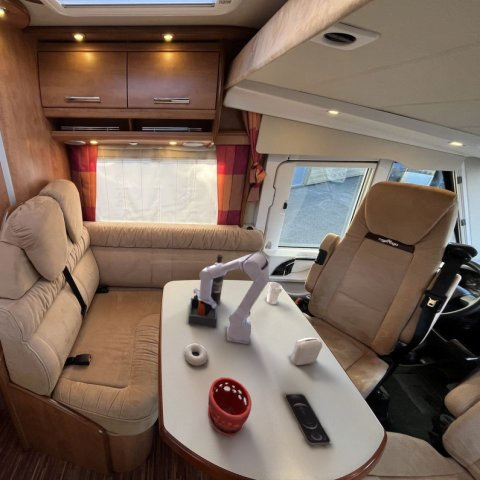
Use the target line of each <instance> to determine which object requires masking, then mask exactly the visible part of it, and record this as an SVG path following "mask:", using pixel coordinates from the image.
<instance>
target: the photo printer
mask: <svg viewBox="0 0 480 480" xmlns="http://www.w3.org/2000/svg"><path fill="white" fill-rule="evenodd" d="M322 348H323V343H322V340H320V338H317V337H305V338H301V339H299V340H297V341H296V342H295V344H294V346H293V350H292V352H291V355H290V361H291V363H293V365H296V366H302V365H308V364H313V363H315V362H316V361H317V359H318V357H319V356H320V355H319V354H320V353H321V349H322Z"/></svg>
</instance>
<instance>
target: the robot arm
mask: <svg viewBox="0 0 480 480" xmlns="http://www.w3.org/2000/svg"><path fill="white" fill-rule="evenodd" d="M269 267H270V261H269V259H268V257H267V255H266V254H264V253H263V252H260V251H257V252H253V253H250V254H246V255H244V256H241V257H239V258H236V259H233V260H232V261H229V262H227V263H223V262H222V263H219V264H218V263H216V262H215V263H214V264H213V265H208V266H206V267H205V268H203V269H202V270H201V271H200V272H199V273H198V277H199V279H200V282H199V283H200V284H199V289H198V288H194V289H193V294H195V295H194V296H193V298H194V299H195V301H196V304H197V308H198V302H199V301H203V302H205V303H207V304H205V305H204V307H205V315H207V314H209V312H210V310H211V309H212V308H215V307H216V308H217V306H218V305H217V304H216V303H215V302H214V301H213V299H212V298H211V289H212V282H213V278H217V277H220V276H223V275H224V276H225V275H227V272H230V271H234V270H237V269H240V270H241V272H245V273H246V275H248V277H249V278H250V279H251V280H252V283H251V285H250V287H249V288H248V290H247V292H246V293H245V295H244V297H243V298H242V300H241V302H240V303H239V305H238V306H237V307H236V309H235V310H234V311H233V312H232V313H231V314H229V316H228V320H229V325H228V326H227V327H226V338H227V341H228V342H233V343H241V344H247V345H248V344H249V343H250V337H251V333H252V323H251V321H248V320H247V319H248V318H249V317H250V316H251V311H252V308H253V306H254V305H255V303H256V302H257V301H258V299H259V297H260V296H261V294H262V293H263V291H264V290H265V288H266V286H267V285H268V284H269V281H270V272H269V271H270V270H269Z"/></svg>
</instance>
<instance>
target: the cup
mask: <svg viewBox="0 0 480 480" xmlns="http://www.w3.org/2000/svg"><path fill="white" fill-rule="evenodd" d="M268 284H269V285H268V291H267V297H266V302H267V303H268V304H270V305H276V304H277V302H278V299H279V296H280V294H281V292H282V290H283V286H282V284H280V283H278V282H274V281H273V282H272V281H271V282H270V283H268Z"/></svg>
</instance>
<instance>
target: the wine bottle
mask: <svg viewBox="0 0 480 480" xmlns="http://www.w3.org/2000/svg"><path fill="white" fill-rule="evenodd" d="M223 259H224V256H223V254H217V255H216V262H215V263H218V264H219V263H223ZM224 279H225V275H223V276H220V277H217V278H213V282H212V289H211V298H212V299H213V301H216V304H217V305H216V306H218V305H219V304H220V302H221V296H222V290H223V285H224Z"/></svg>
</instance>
